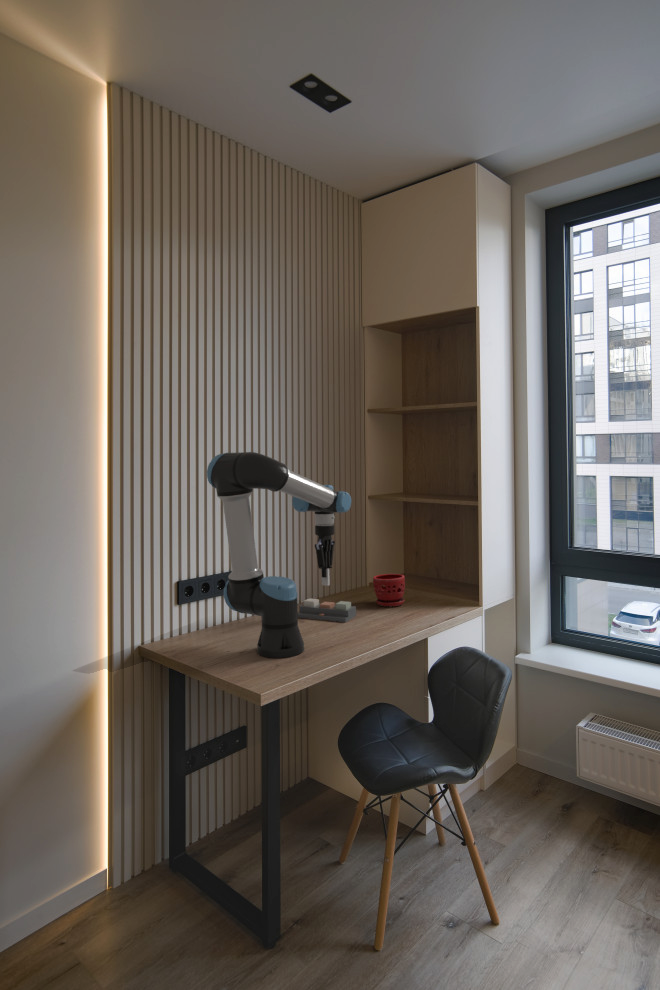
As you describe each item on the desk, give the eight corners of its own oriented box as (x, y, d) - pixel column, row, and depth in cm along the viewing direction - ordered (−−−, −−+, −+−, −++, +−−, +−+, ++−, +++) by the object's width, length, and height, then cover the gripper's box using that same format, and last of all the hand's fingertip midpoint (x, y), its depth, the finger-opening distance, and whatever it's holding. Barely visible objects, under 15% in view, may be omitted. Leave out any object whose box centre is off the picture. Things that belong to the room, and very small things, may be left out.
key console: (345, 622, 229) (345, 612, 229) (296, 617, 239) (296, 607, 238) (356, 616, 238) (355, 606, 237) (308, 611, 247) (307, 602, 247)
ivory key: (313, 609, 239) (313, 601, 239) (304, 608, 241) (303, 600, 241) (319, 606, 243) (318, 599, 243) (309, 605, 245) (309, 598, 245)
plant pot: (405, 600, 260) (404, 572, 260) (405, 608, 247) (404, 578, 247) (374, 600, 262) (373, 573, 261) (373, 608, 249) (372, 579, 248)
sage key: (346, 612, 233) (346, 604, 233) (335, 611, 235) (335, 603, 235) (351, 609, 237) (350, 601, 237) (340, 608, 239) (340, 601, 239)
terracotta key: (330, 612, 236) (329, 605, 236) (319, 611, 238) (319, 604, 238) (335, 610, 240) (334, 602, 240) (325, 609, 242) (324, 601, 242)
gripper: (325, 526, 229) (326, 589, 230) (340, 523, 241) (341, 582, 242) (308, 526, 233) (309, 587, 234) (323, 523, 244) (324, 581, 245)
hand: (325, 585), depth 238 cm, fingers closed
